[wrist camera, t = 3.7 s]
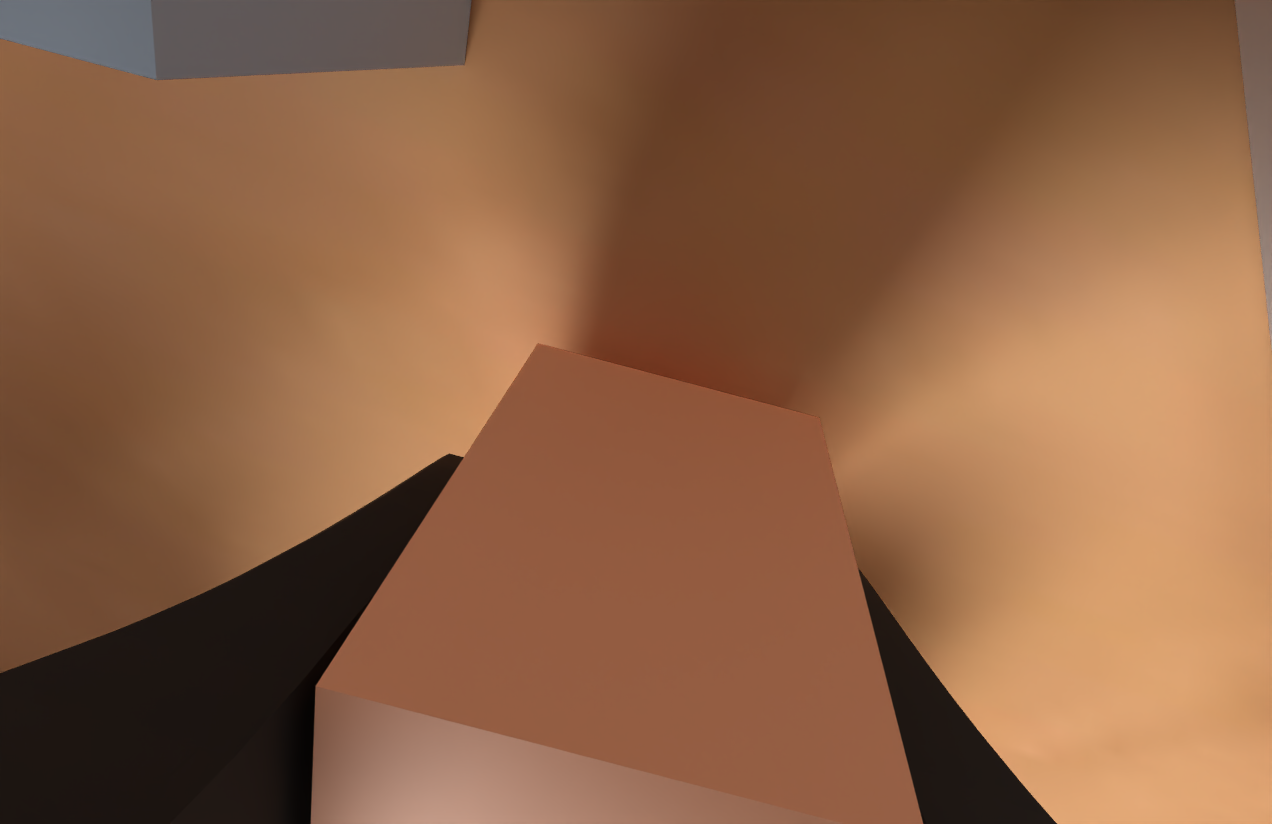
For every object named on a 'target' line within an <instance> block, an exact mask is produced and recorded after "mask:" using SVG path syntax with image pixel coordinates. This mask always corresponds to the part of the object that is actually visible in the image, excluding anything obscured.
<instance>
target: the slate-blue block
mask: <svg viewBox="0 0 1272 824" xmlns="http://www.w3.org/2000/svg"><path fill="white" fill-rule="evenodd" d="M470 9H471V0H0V39H4V40H8V41H11V42H15V43H19V44H23V45H26V46H30V47H34V48H38V49H42V50H45V51H49V52H53V53H57V54H60V55H64V56H68V57H72V58H75V59H79V60H83V61H87V62H91V63H94V64H98V65H102V66H106V67H109V68H113V69H117V70H121V71H124V72H128V73H132V74H136V75H140V76H143V77H147V78H151V79H155V80H167V79H188V78H209V77H229V76H250V75H270V74H291V73H311V72H332V71H353V70H373V69H394V68H414V67H435V66H456V65H464V64H465V55H466V46H467V37H468V28H469V19H470Z"/></svg>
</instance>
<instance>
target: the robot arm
mask: <svg viewBox="0 0 1272 824" xmlns="http://www.w3.org/2000/svg"><path fill="white" fill-rule="evenodd" d="M463 458H464V457H460V456H456V455H453V454H448V455H446V456H444V457H442V458H440V459H438V460H437V461H435V462H434V463H432V464H430V465H429V466H427V467H426V468H424V469H423V470H421V471H419V472H418V473H416V474H415V475H413V476H412V477H410V478H409V479H407V480H405V481H404V482H402V483H401V484H399V485H398V486H396V487H395V488H393V489H391V490H390V491H388V492H387V493H385V494H383V495H382V496H380V497H379V498H377V499H375V500H374V501H372V502H371V503H369V504H367V505H366V506H364V507H362V508H361V509H359V510H357V511H356V512H354V513H352V514H351V515H349V516H347V517H345V518H344V519H342V520H340V521H339V522H337V523H335V524H334V525H332V526H330V527H329V528H327V529H325V530H324V531H322V532H320V533H318V534H317V535H315V536H313V537H311V538H310V539H308V540H306V541H304V542H302V543H300V544H298V545H297V546H295V547H293V548H291V549H289V550H287V551H285V552H283V553H281V554H280V555H278V556H276V557H274V558H272V559H270V560H268V561H266V562H265V563H263V564H261V565H259V566H257V567H255V568H253V569H251V570H249V571H248V572H246V573H244V574H242V575H240V576H238V577H236V578H234V579H232V580H230V581H228V582H225V583H223V584H221V585H219V586H217V587H215V588H213V589H211V590H209V591H207V592H205V593H202V594H200V595H198V596H196V597H194V598H191V599H189V600H187V601H185V602H182V603H180V604H178V605H175V606H173V607H171V608H168V609H166V610H164V611H161V612H159V613H157V614H155V615H152V616H150V617H148V618H145V619H143V620H141V621H138V622H136V623H133V624H131V625H128V626H126V627H124V628H121V629H119V630H116V631H114V632H111V633H108V634H106V635H103V636H100V637H97V638H95V639H92V640H89V641H87V642H84V643H81V644H79V645H76V646H73V647H70V648H68V649H65V650H62V651H60V652H57V653H54V654H51V655H49V656H46V657H43V658H41V659H38V660H35V661H33V662H30V663H27V664H24V665H22V666H19V667H16V668H14V669H11V670H8V671H6V672H3V673H0V824H311V803H312V774H313V746H314V717H315V688H316V685H317V683H318V682H319V680H320V679H321V677H322V675H323V674H324V672H325V671H326V669H327V668H328V666H329V665H330V663H331V662H332V660H333V659H334V657H335V655H336V654H337V652H338V651H339V649H340V648H341V646H342V645H343V643H344V642H345V640H346V638H347V637H348V635H349V634H350V632H351V631H352V629H353V628H354V626H355V625H356V623H357V622H358V620H359V618H360V617H361V615H362V614H363V612H364V611H365V609H366V608H367V606H368V605H369V603H370V602H371V600H372V598H373V597H374V595H375V594H376V592H377V591H378V589H379V588H380V586H381V585H382V583H383V581H384V580H385V578H386V577H387V575H388V574H389V572H390V571H391V569H392V568H393V566H394V565H395V563H396V561H397V560H398V558H399V557H400V555H401V554H402V552H403V551H404V549H405V548H406V546H407V544H408V543H409V541H410V540H411V538H412V537H413V535H414V534H415V532H416V531H417V529H418V528H419V526H420V524H421V523H422V521H423V520H424V518H425V517H426V515H427V514H428V512H429V511H430V509H431V507H432V506H433V504H434V503H435V501H436V500H437V498H438V497H439V495H440V494H441V492H442V491H443V489H444V487H445V486H446V484H447V483H448V481H449V480H450V478H451V477H452V475H453V474H454V472H455V471H456V469H457V467H458V466H459V464H460V463H461V461H462V460H463ZM858 571H859V575H860V578H861V582H862V586H863V590H864V594H865V598H866V602H867V606H868V610H869V614H870V618H871V621H872V625H873V629H874V633H875V637H876V641H877V645H878V649H879V653H880V657H881V661H882V665H883V668H884V672H885V676H886V680H887V684H888V688H889V692H890V696H891V700H892V704H893V708H894V711H895V715H896V719H897V723H898V727H899V731H900V735H901V739H902V743H903V747H904V751H905V754H906V758H907V762H908V766H909V770H910V774H911V778H912V782H913V786H914V790H915V794H916V798H917V801H918V805H919V809H920V813H921V817H922V821H923V824H1057V823H1056V822H1055V821H1054V820H1053V819H1052V818H1051V817H1050V815H1049V814H1048V813H1047V812H1046V811H1045V810H1044V809H1043V807H1042V806H1041V805H1040V804H1039V803H1038V802H1037V801H1036V799H1035V798H1034V797H1033V796H1032V795H1031V794H1030V793H1029V791H1028V790H1027V789H1026V788H1025V787H1024V786H1023V784H1022V783H1021V782H1020V781H1019V780H1018V778H1017V777H1016V776H1015V775H1014V774H1013V772H1012V771H1011V770H1010V769H1009V767H1008V766H1007V765H1006V764H1005V763H1004V761H1003V760H1002V759H1001V758H1000V757H999V755H998V754H997V753H996V752H995V750H994V749H993V748H992V747H991V746H990V744H989V743H988V742H987V741H986V739H985V738H984V737H983V736H982V735H981V733H980V732H979V731H978V730H977V728H976V727H975V726H974V725H973V723H972V722H971V721H970V719H969V718H968V717H967V716H966V714H965V713H964V712H963V710H962V709H961V708H960V707H959V705H958V704H957V703H956V701H955V700H954V699H953V697H952V696H951V695H950V694H949V692H948V691H947V690H946V688H945V687H944V686H943V684H942V683H941V682H940V680H939V679H938V678H937V676H936V675H935V673H934V672H933V671H932V669H931V668H930V667H929V665H928V664H927V663H926V661H925V660H924V659H923V657H922V656H921V654H920V653H919V652H918V650H917V649H916V648H915V646H914V645H913V643H912V642H911V641H910V639H909V638H908V636H907V635H906V634H905V632H904V631H903V629H902V628H901V627H900V625H899V624H898V622H897V621H896V620H895V618H894V617H893V615H892V614H891V613H890V611H889V610H888V608H887V607H886V606H885V604H884V603H883V601H882V600H881V599H880V597H879V596H878V594H877V593H876V591H875V590H874V589H873V587H872V586H871V585H870V583H869V582H868V580H867V579H866V578H865V576H864V575H863V574H862V572H861V571H860V570H859V568H858Z"/></svg>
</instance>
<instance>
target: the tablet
mask: <svg viewBox="0 0 1272 824" xmlns="http://www.w3.org/2000/svg"><path fill="white" fill-rule="evenodd" d="M1235 10H1236V19H1237V28H1238V38H1239V47H1240V57H1241V66H1242V75H1243V85H1244V94H1245V104H1246V113H1247V123H1248V132H1249V141H1250V151H1251V160H1252V170H1253V179H1254V188H1255V198H1256V207H1257V217H1258V226H1259V236H1260V245H1261V254H1262V264H1263V273H1264V283H1265V292H1266V301H1267V311H1268V320H1269V330H1270V339H1271V349H1272V0H1235Z"/></svg>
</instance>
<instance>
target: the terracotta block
mask: <svg viewBox="0 0 1272 824" xmlns="http://www.w3.org/2000/svg"><path fill="white" fill-rule="evenodd" d="M311 824H923V821H922V817H921V813H920V809H919V805H918V801H917V798H916V794H915V790H914V786H913V782H912V778H911V774H910V770H909V766H908V762H907V758H906V754H905V751H904V747H903V743H902V739H901V735H900V731H899V727H898V723H897V719H896V715H895V711H894V708H893V704H892V700H891V696H890V692H889V688H888V684H887V680H886V676H885V672H884V668H883V665H882V661H881V657H880V653H879V649H878V645H877V641H876V637H875V633H874V629H873V625H872V621H871V618H870V614H869V610H868V606H867V602H866V598H865V594H864V590H863V586H862V582H861V578H860V575H859V571H858V567H857V563H856V559H855V555H854V551H853V547H852V543H851V539H850V535H849V531H848V528H847V524H846V520H845V516H844V512H843V508H842V504H841V500H840V496H839V492H838V488H837V485H836V481H835V477H834V473H833V469H832V465H831V461H830V457H829V453H828V449H827V445H826V441H825V438H824V434H823V430H822V426H821V422H820V418H819V417H816V416H812V415H808V414H804V413H801V412H797V411H793V410H789V409H785V408H782V407H778V406H774V405H770V404H766V403H763V402H759V401H755V400H751V399H747V398H744V397H740V396H736V395H732V394H728V393H725V392H721V391H717V390H713V389H709V388H706V387H702V386H698V385H694V384H690V383H687V382H683V381H679V380H675V379H672V378H668V377H664V376H660V375H656V374H653V373H649V372H645V371H641V370H637V369H634V368H630V367H626V366H622V365H618V364H615V363H611V362H607V361H603V360H599V359H596V358H592V357H588V356H584V355H580V354H577V353H573V352H569V351H565V350H561V349H558V348H554V347H550V346H546V345H542V344H539V343H538V344H537V346H536V347H535V349H534V350H533V352H532V353H531V355H530V356H529V358H528V360H527V361H526V363H525V364H524V366H523V367H522V369H521V370H520V372H519V373H518V375H517V377H516V378H515V380H514V381H513V383H512V384H511V386H510V387H509V389H508V390H507V392H506V393H505V395H504V397H503V398H502V400H501V401H500V403H499V404H498V406H497V407H496V409H495V410H494V412H493V413H492V415H491V417H490V418H489V420H488V421H487V423H486V424H485V426H484V427H483V429H482V430H481V432H480V434H479V435H478V437H477V438H476V440H475V441H474V443H473V444H472V446H471V447H470V449H469V450H468V452H467V454H466V455H465V457H464V458H463V460H462V461H461V463H460V464H459V466H458V467H457V469H456V471H455V472H454V474H453V475H452V477H451V478H450V480H449V481H448V483H447V484H446V486H445V487H444V489H443V491H442V492H441V494H440V495H439V497H438V498H437V500H436V501H435V503H434V504H433V506H432V507H431V509H430V511H429V512H428V514H427V515H426V517H425V518H424V520H423V521H422V523H421V524H420V526H419V528H418V529H417V531H416V532H415V534H414V535H413V537H412V538H411V540H410V541H409V543H408V544H407V546H406V548H405V549H404V551H403V552H402V554H401V555H400V557H399V558H398V560H397V561H396V563H395V565H394V566H393V568H392V569H391V571H390V572H389V574H388V575H387V577H386V578H385V580H384V581H383V583H382V585H381V586H380V588H379V589H378V591H377V592H376V594H375V595H374V597H373V598H372V600H371V602H370V603H369V605H368V606H367V608H366V609H365V611H364V612H363V614H362V615H361V617H360V618H359V620H358V622H357V623H356V625H355V626H354V628H353V629H352V631H351V632H350V634H349V635H348V637H347V638H346V640H345V642H344V643H343V645H342V646H341V648H340V649H339V651H338V652H337V654H336V655H335V657H334V659H333V660H332V662H331V663H330V665H329V666H328V668H327V669H326V671H325V672H324V674H323V675H322V677H321V679H320V680H319V682H318V683H317V685H316V688H315V717H314V746H313V774H312V803H311Z"/></svg>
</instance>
